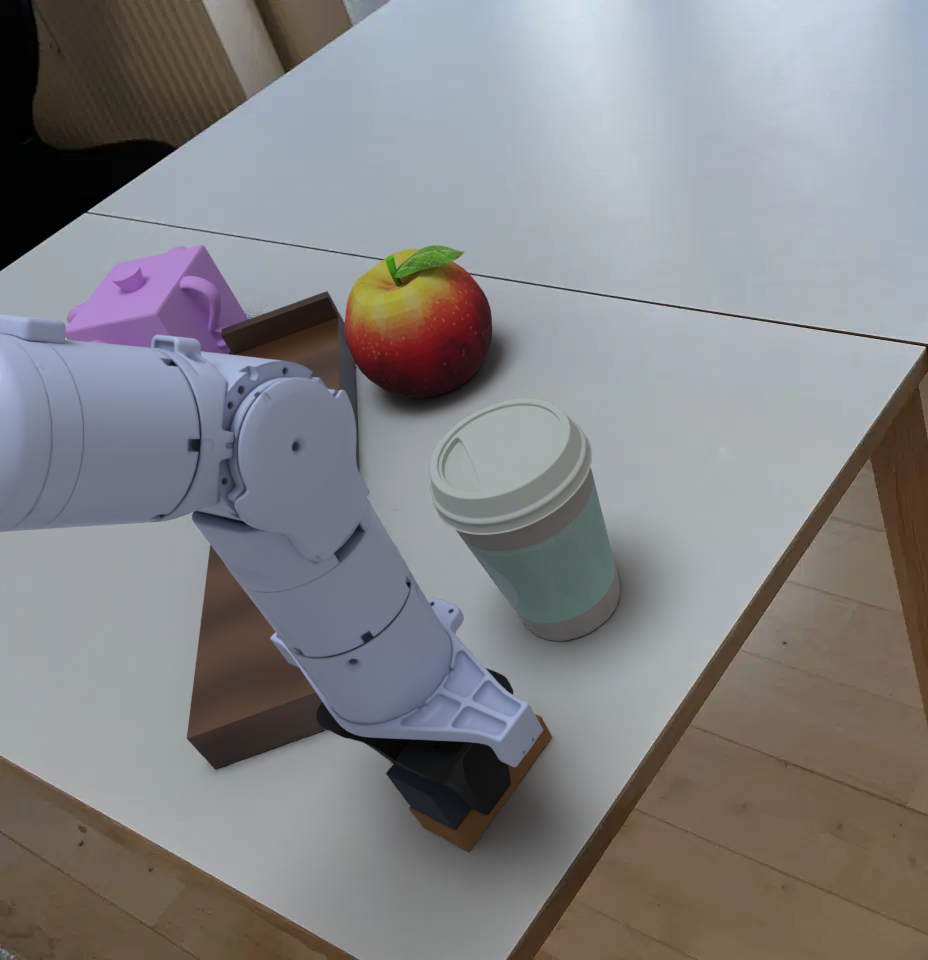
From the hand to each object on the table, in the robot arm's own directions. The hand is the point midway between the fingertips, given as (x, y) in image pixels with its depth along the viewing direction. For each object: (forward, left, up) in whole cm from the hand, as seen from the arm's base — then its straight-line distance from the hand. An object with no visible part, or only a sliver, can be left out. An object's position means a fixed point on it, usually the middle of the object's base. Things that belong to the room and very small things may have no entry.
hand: (466, 782), depth 54 cm
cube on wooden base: (+1, 0, -1) cm, 2 cm away
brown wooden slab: (+7, +29, -1) cm, 30 cm away
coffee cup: (+12, +5, -2) cm, 13 cm away
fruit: (+23, +31, -2) cm, 38 cm away
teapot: (+12, +55, -2) cm, 56 cm away
